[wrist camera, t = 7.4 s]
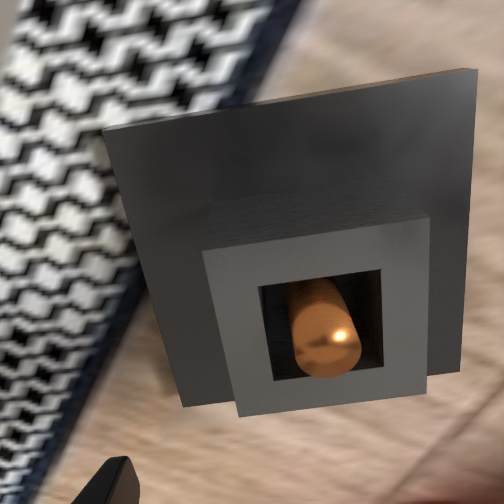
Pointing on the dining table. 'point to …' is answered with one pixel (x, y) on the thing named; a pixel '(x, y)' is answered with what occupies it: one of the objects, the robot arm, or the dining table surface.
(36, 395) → the dining table surface
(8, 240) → the dining table surface
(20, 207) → the dining table surface
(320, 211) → the grey hollow block
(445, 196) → the grey socket block
